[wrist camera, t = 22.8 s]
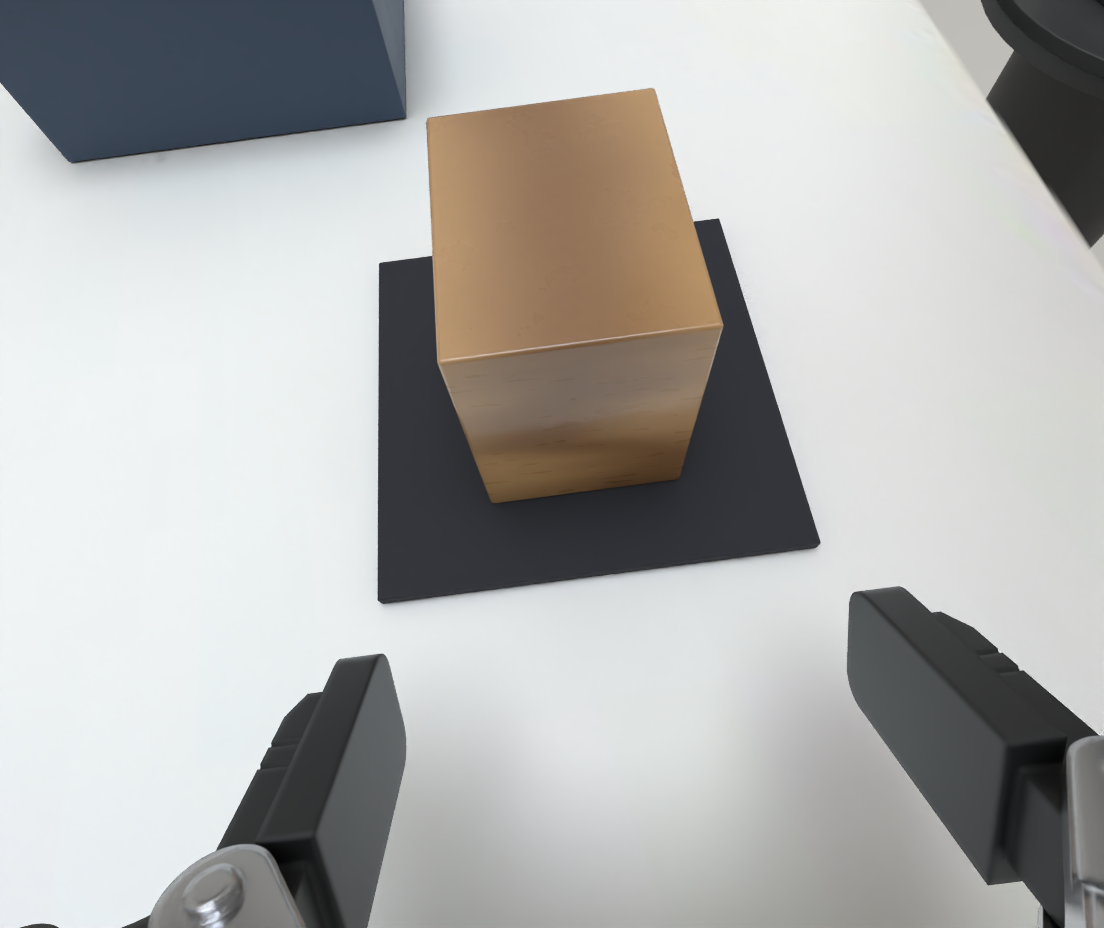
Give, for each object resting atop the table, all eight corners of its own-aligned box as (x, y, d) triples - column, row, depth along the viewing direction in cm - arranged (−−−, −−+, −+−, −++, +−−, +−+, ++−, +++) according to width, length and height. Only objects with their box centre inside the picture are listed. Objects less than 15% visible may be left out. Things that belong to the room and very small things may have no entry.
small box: (637, 289, 21) (655, 85, 15) (679, 480, 18) (725, 326, 12) (475, 310, 21) (424, 116, 15) (491, 505, 18) (436, 364, 12)
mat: (717, 226, 23) (719, 217, 22) (817, 547, 17) (821, 543, 17) (382, 270, 23) (378, 262, 22) (381, 604, 18) (377, 600, 17)
